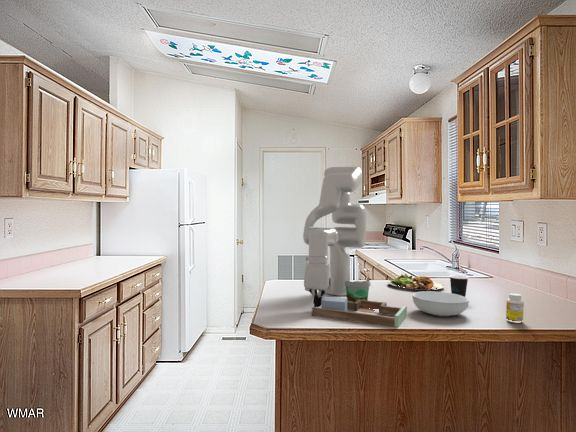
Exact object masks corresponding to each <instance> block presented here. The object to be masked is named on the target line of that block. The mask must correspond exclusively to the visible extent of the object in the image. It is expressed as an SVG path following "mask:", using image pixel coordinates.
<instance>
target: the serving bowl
mask: <svg viewBox="0 0 576 432" xmlns="http://www.w3.org/2000/svg"><path fill="white" fill-rule="evenodd" d="M412 301H413V304H414V306H415V307H416V308H417V309H418V310H420V311H422V312H424V313H426V314H429V315H431V314H434V315H433V316H435V315H441V316H440V317H444V316H445V317H452V316H456V315H460V314H462V313H463V312H465V311H466V310H467V308H468V307H469V303H470V299H469V298H468V297H466V296H465V297H464V296H461V295H457V294H452V293H451V292H445V291H435V290H434V291H433V290H422V291H417V292H413V293H412ZM451 315H452V316H451Z"/></svg>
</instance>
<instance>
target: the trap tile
mask: <svg viewBox="0 0 576 432" xmlns="http://www.w3.org/2000/svg"><path fill="white" fill-rule="evenodd" d="M363 311H365V313H371V312H374V311H375V310H373V309H369V308H360V309H359V310H357V312H363Z"/></svg>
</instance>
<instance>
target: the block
mask: <svg viewBox="0 0 576 432" xmlns="http://www.w3.org/2000/svg"><path fill="white" fill-rule="evenodd" d="M320 308H324V309H332V310H340V311H348V310H347V297H338V296H337V297H335V296H324V297H322V300H321V306H320Z"/></svg>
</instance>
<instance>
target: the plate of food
mask: <svg viewBox="0 0 576 432" xmlns="http://www.w3.org/2000/svg"><path fill="white" fill-rule="evenodd" d="M388 284H389V285H391V286H394V287H398V285H399V286H400V287H401V288H400V287H399V288H400V289H404V288H403V287H405V288H406V289H409V290H411V289H412V290H415V291H416V290H418V291H433V290H434V291H435V290H440V289H444V287H445V284H443V283H442V282H438V281H435V280H432V279H431V277H429V276H425V275H421V276H415V277H413V275H410V276H408V275H407V273H404V274H401V275H399V276H397V278H394V279H389V280H388ZM433 286H436V287H437V289H436V288H434V287H433ZM432 287H433V289H432V290H431V288H432ZM419 289H420V290H419Z"/></svg>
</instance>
